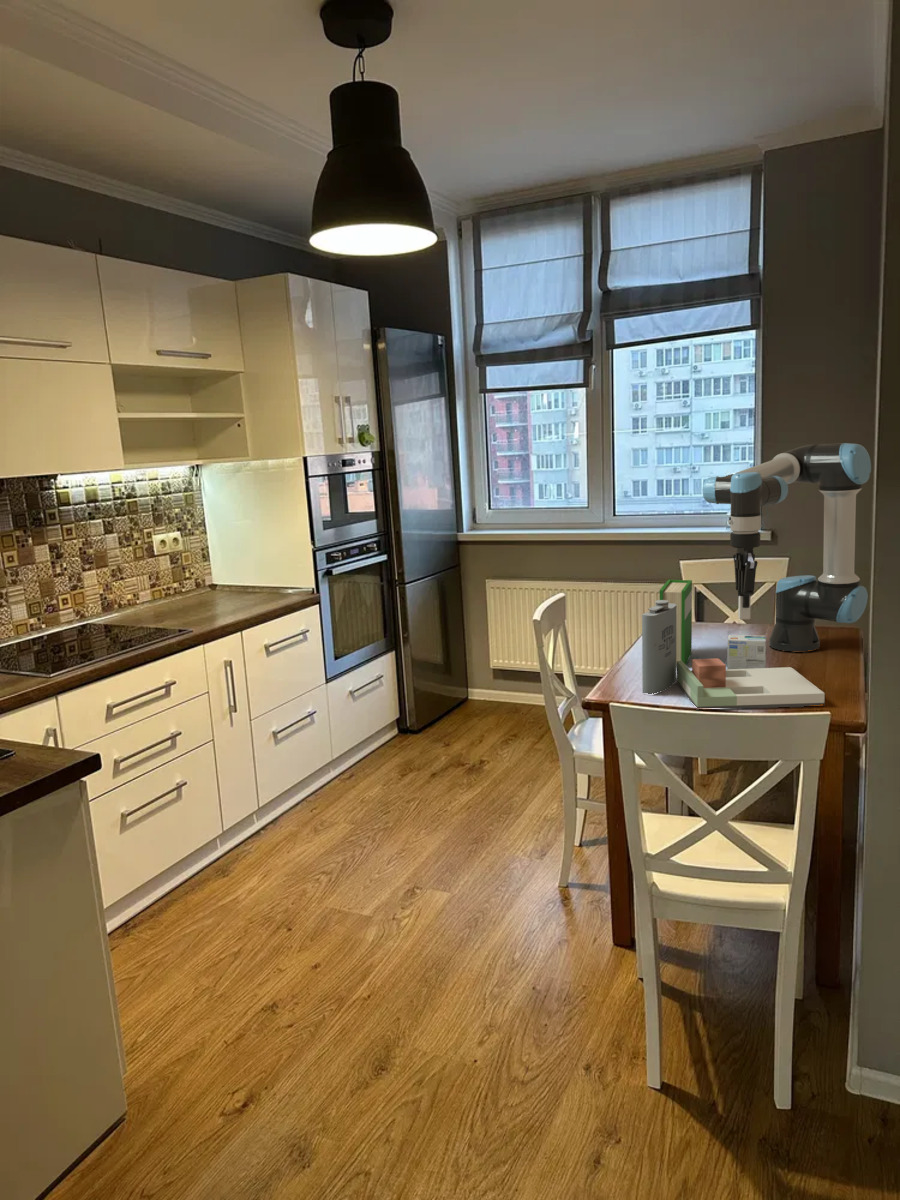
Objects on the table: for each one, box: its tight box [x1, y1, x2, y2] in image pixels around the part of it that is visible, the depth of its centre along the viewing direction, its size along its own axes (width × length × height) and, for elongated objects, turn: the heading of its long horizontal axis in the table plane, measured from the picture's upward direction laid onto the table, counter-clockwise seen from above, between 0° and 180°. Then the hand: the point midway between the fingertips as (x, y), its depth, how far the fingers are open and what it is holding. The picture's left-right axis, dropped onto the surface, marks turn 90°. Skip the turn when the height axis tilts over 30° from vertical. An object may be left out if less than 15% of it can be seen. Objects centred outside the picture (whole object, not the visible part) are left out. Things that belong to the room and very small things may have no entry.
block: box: [691, 657, 727, 688], centre depth 220 cm, size 7×7×6 cm
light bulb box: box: [727, 634, 767, 669], centre depth 240 cm, size 11×7×11 cm, turn 71°
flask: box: [641, 599, 677, 694], centre depth 229 cm, size 17×5×25 cm, turn 143°
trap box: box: [676, 661, 826, 711], centre depth 221 cm, size 32×24×6 cm
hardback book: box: [659, 579, 693, 666], centre depth 255 cm, size 18×7×24 cm, turn 157°
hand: (744, 618), depth 220 cm, fingers closed
